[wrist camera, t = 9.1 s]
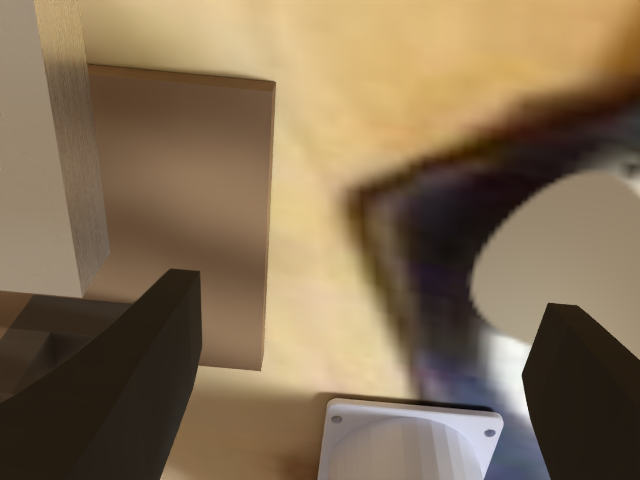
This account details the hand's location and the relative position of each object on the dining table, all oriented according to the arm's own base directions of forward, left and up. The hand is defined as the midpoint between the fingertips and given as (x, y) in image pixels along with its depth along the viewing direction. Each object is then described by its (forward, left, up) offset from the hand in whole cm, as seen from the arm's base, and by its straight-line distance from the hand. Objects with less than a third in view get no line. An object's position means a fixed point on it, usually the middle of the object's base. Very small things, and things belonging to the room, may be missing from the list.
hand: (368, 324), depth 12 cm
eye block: (-5, +9, -9) cm, 14 cm away
